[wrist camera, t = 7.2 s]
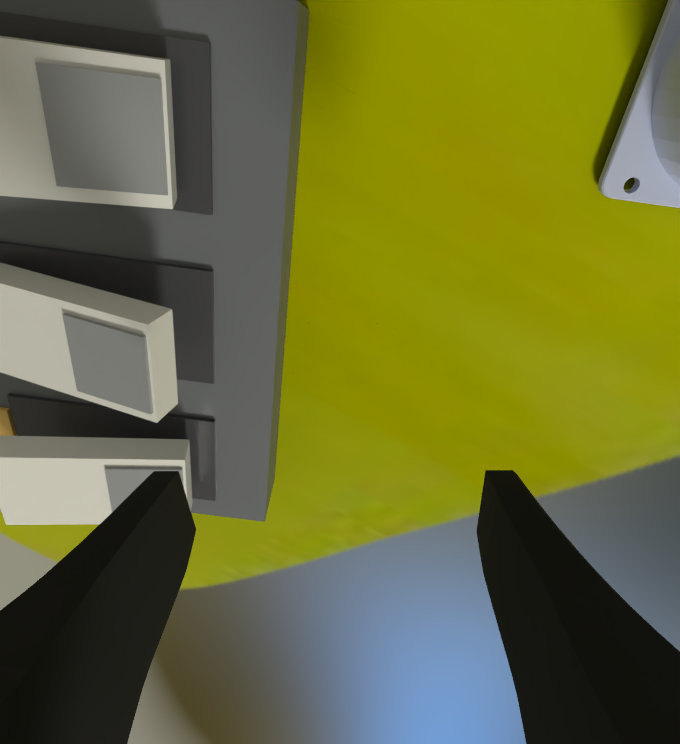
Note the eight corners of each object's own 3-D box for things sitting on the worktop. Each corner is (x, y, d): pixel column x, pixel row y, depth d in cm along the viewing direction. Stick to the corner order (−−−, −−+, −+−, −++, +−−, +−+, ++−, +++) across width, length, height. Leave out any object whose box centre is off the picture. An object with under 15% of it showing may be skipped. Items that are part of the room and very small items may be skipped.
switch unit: (309, 11, 15) (297, 0, 13) (274, 479, 26) (264, 524, 23) (-120, -55, 15) (-221, -79, 12) (24, 448, 25) (-14, 490, 23)
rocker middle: (172, 309, 15) (145, 326, 14) (178, 403, 17) (154, 425, 16) (-12, 259, 16) (-50, 271, 15) (12, 351, 18) (-20, 368, 17)
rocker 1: (170, 59, 13) (163, 60, 12) (177, 198, 15) (172, 210, 14) (-143, 15, 12) (-182, 12, 10) (-91, 176, 13) (-119, 187, 12)
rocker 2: (189, 439, 20) (184, 462, 19) (192, 501, 22) (188, 526, 21) (-2, 435, 19) (-20, 460, 18) (19, 501, 21) (4, 527, 19)
